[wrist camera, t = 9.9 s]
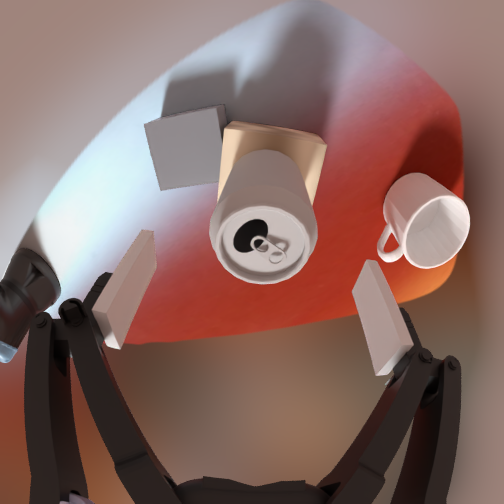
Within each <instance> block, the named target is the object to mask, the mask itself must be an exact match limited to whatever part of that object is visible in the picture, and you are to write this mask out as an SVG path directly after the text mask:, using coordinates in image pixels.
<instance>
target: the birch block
mask: <svg viewBox="0 0 504 504" xmlns="http://www.w3.org/2000/svg"><path fill="white" fill-rule="evenodd" d="M326 147H327V145H326V144H325V142H324V141H323V140H322V139H321V138H320V137H319V136H318V135H317V134H314V133H309V132H304V131H299V130H294V129H288V128H283V127H277V126H270V125H264V124H257V123H249V122H241V121H231V122H230V123H229V124H228V125H227V126H226V127H225V128H224V136H223V145H222V156H221V166H220V177H219V189H218V200H219V198H220V195H221V193H222V190H223V188H224V185H225V183H226V181H227V178H228V176H229V174H230V172H231V170H232V168H233V166H234V164H235V163H236V162H237V161H238V160H239V159H240V158H241V157H242V156H244V155H246V154H248V153H250V152H252V151H256V150H264V149H268V150H274V151H279V152H281V153H283V154H284V155H286V156H288V157H290V158H291V159H292V160H293V161H294V162H295V163H296V164H297V166H298V167H299V170H300V172H301V174H302V176H303V179H304V182H305V185H306V189H307V192H308V195H309V198H310V201H311V205H313V201H314V197H315V193H316V189H317V185H318V181H319V177H320V172H321V168H322V164H323V160H324V156H325V151H326ZM217 202H218V201H217Z"/></svg>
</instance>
